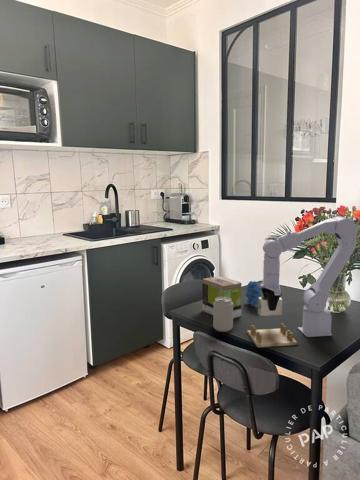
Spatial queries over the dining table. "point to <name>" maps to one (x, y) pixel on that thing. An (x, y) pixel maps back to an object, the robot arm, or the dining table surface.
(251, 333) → the tray
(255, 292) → the grapes
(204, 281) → the tea box
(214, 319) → the can
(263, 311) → the block
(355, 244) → the robot arm
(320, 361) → the dining table surface
